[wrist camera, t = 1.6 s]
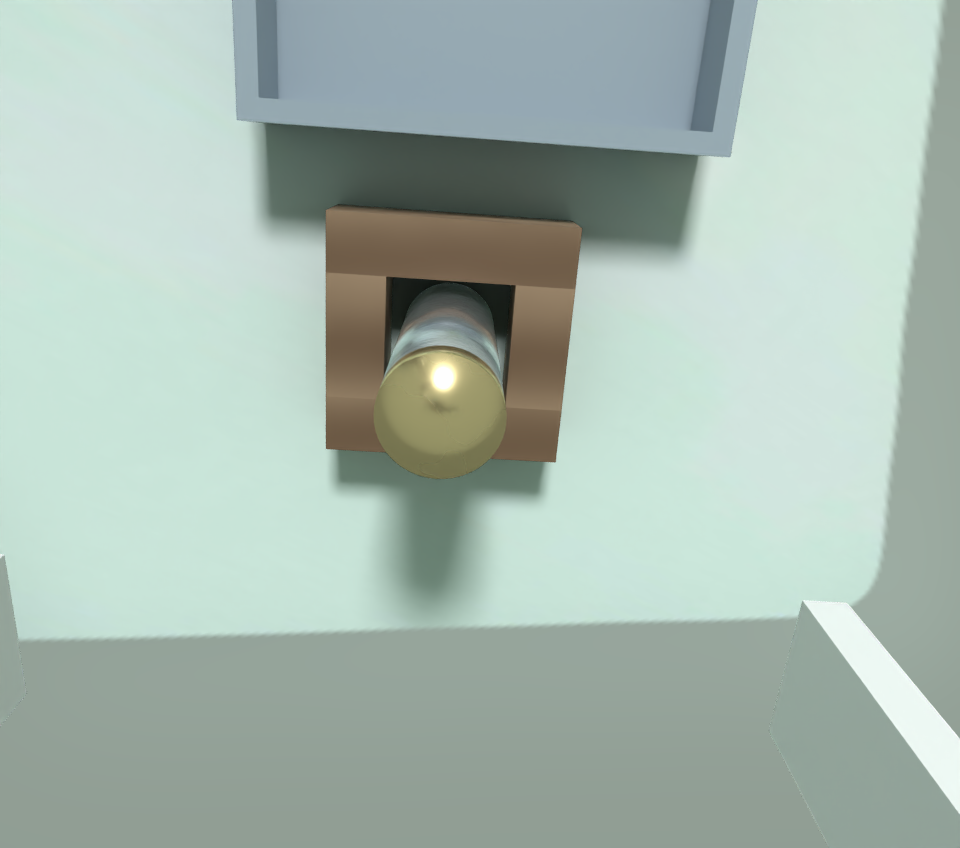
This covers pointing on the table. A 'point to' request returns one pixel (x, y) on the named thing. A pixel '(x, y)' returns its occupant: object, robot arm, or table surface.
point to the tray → (500, 69)
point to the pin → (443, 386)
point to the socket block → (451, 257)
